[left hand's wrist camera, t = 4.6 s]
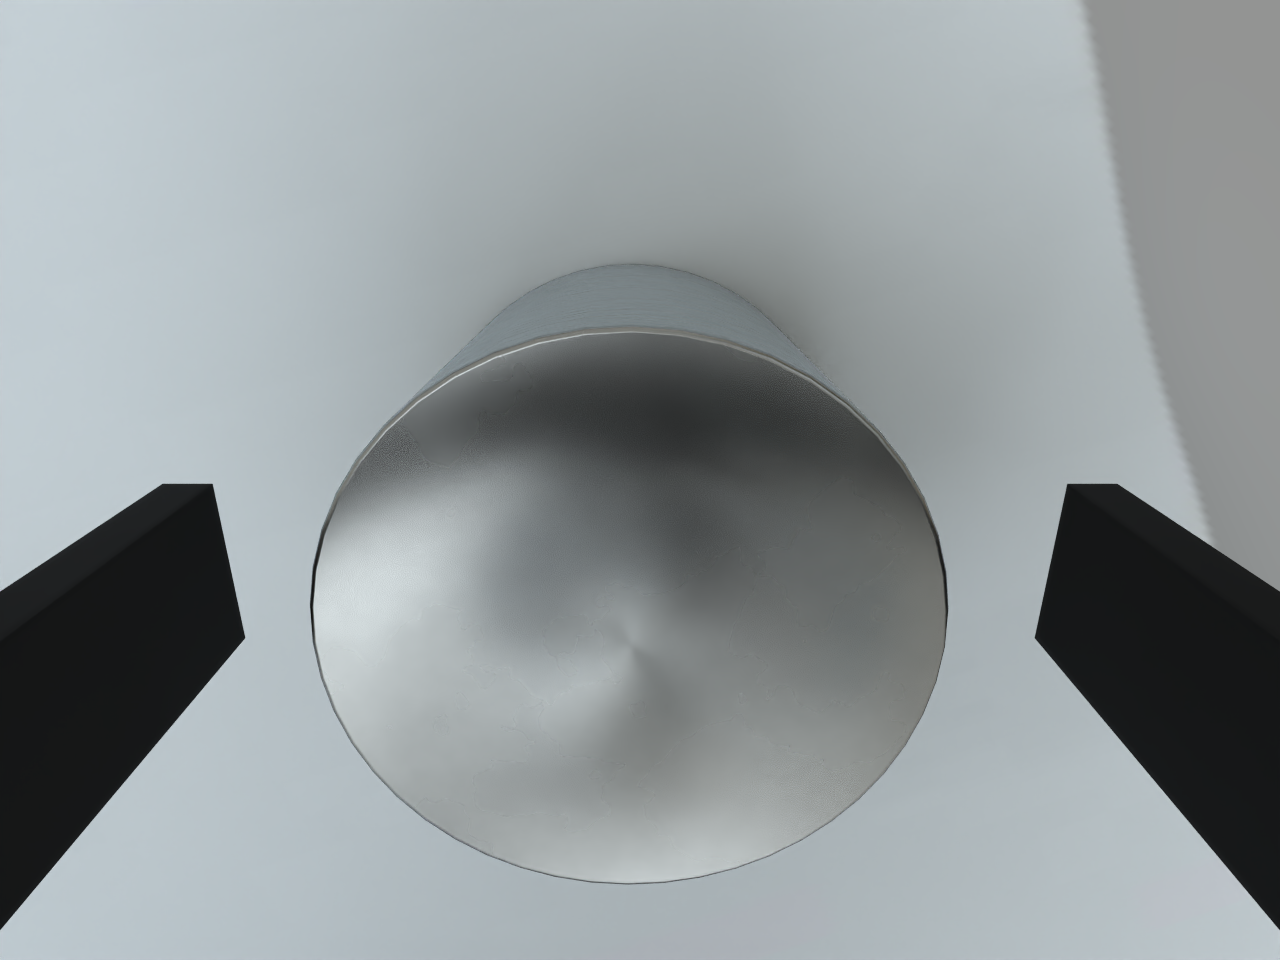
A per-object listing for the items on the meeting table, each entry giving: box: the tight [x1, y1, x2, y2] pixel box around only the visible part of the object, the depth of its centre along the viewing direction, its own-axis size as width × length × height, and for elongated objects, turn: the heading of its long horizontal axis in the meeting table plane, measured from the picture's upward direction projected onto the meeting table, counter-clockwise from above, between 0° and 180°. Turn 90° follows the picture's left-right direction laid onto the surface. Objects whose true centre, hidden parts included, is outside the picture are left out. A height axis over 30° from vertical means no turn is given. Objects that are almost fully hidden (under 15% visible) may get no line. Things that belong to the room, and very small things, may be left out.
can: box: [310, 264, 948, 884], centre depth 15 cm, size 9×9×8 cm
